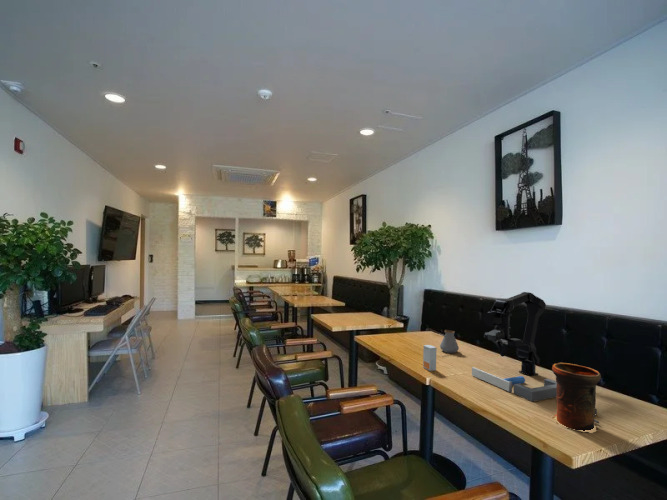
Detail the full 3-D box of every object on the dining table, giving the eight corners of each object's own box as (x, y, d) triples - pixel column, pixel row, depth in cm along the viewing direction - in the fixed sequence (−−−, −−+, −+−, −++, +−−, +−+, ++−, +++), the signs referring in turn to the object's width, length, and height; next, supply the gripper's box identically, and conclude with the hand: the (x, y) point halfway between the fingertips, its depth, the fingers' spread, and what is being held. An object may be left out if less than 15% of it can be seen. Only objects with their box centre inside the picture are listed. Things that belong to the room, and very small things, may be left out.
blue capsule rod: (519, 381, 166) (519, 375, 166) (525, 383, 163) (525, 377, 163) (500, 384, 161) (500, 377, 161) (506, 386, 158) (506, 380, 158)
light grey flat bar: (512, 392, 150) (512, 382, 150) (510, 392, 150) (510, 382, 150) (473, 375, 172) (473, 366, 172) (471, 375, 171) (471, 366, 171)
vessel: (563, 411, 133) (565, 360, 133) (607, 428, 120) (609, 372, 120) (542, 418, 126) (544, 364, 126) (585, 438, 113) (587, 378, 113)
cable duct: (548, 387, 158) (548, 378, 158) (568, 394, 150) (568, 385, 150) (513, 393, 150) (513, 384, 150) (532, 401, 141) (532, 391, 141)
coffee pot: (453, 348, 223) (453, 326, 223) (462, 353, 211) (462, 329, 212) (422, 349, 220) (422, 326, 220) (429, 354, 208) (430, 329, 209)
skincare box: (422, 367, 182) (423, 345, 183) (429, 366, 184) (429, 344, 184) (429, 371, 177) (430, 348, 177) (436, 370, 178) (436, 347, 178)
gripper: (476, 322, 175) (475, 352, 175) (506, 329, 158) (506, 363, 157) (492, 321, 179) (491, 350, 179) (524, 328, 162) (523, 361, 162)
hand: (502, 356), depth 169 cm, fingers closed
